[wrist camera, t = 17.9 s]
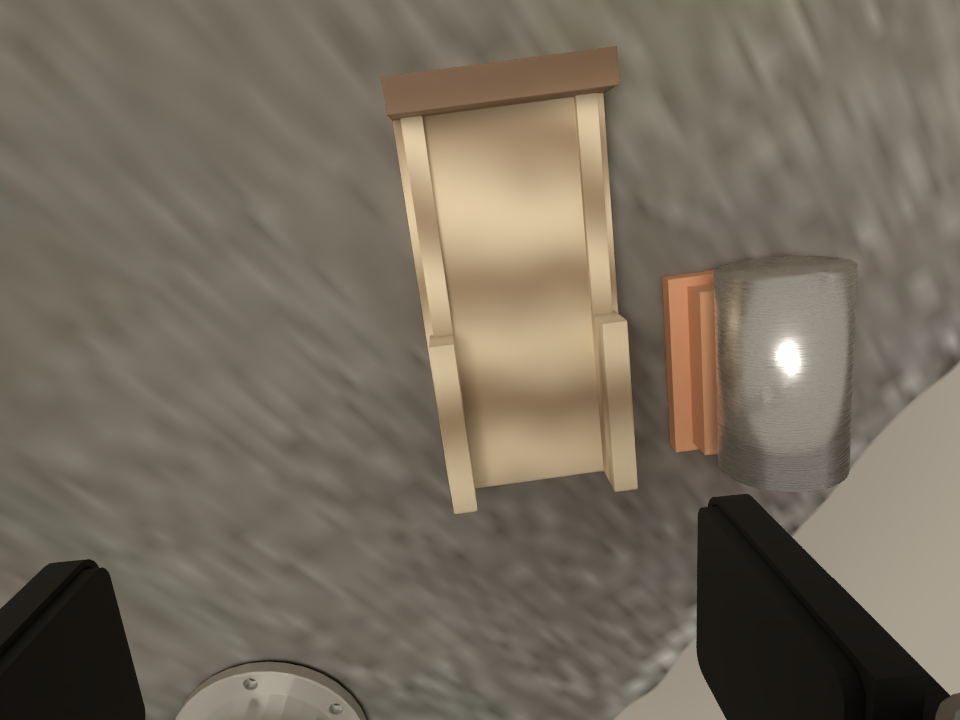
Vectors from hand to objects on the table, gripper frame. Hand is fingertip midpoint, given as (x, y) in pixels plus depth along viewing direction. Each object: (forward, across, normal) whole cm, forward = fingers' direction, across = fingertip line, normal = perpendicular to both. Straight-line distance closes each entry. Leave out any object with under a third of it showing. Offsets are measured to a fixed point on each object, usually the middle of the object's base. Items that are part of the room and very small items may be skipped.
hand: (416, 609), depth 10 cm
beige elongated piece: (+26, -4, -1) cm, 26 cm away
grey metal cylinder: (+23, -16, +3) cm, 29 cm away
